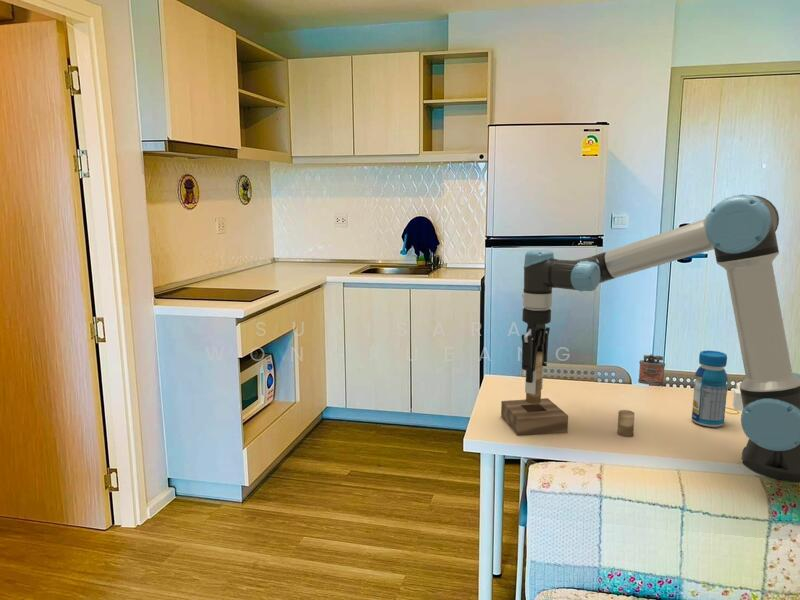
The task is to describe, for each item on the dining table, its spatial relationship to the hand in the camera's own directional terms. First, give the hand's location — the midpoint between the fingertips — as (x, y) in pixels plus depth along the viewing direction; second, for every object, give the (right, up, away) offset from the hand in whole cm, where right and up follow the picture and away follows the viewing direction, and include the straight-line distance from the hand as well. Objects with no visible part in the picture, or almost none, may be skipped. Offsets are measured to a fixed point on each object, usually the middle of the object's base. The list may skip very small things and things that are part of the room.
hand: (533, 390), depth 163 cm
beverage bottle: (+49, -10, +3) cm, 51 cm away
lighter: (+48, -4, +37) cm, 61 cm away
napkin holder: (+66, -7, +18) cm, 69 cm away
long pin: (0, -3, +1) cm, 3 cm away
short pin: (+23, -11, -5) cm, 26 cm away
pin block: (0, -10, +2) cm, 10 cm away
